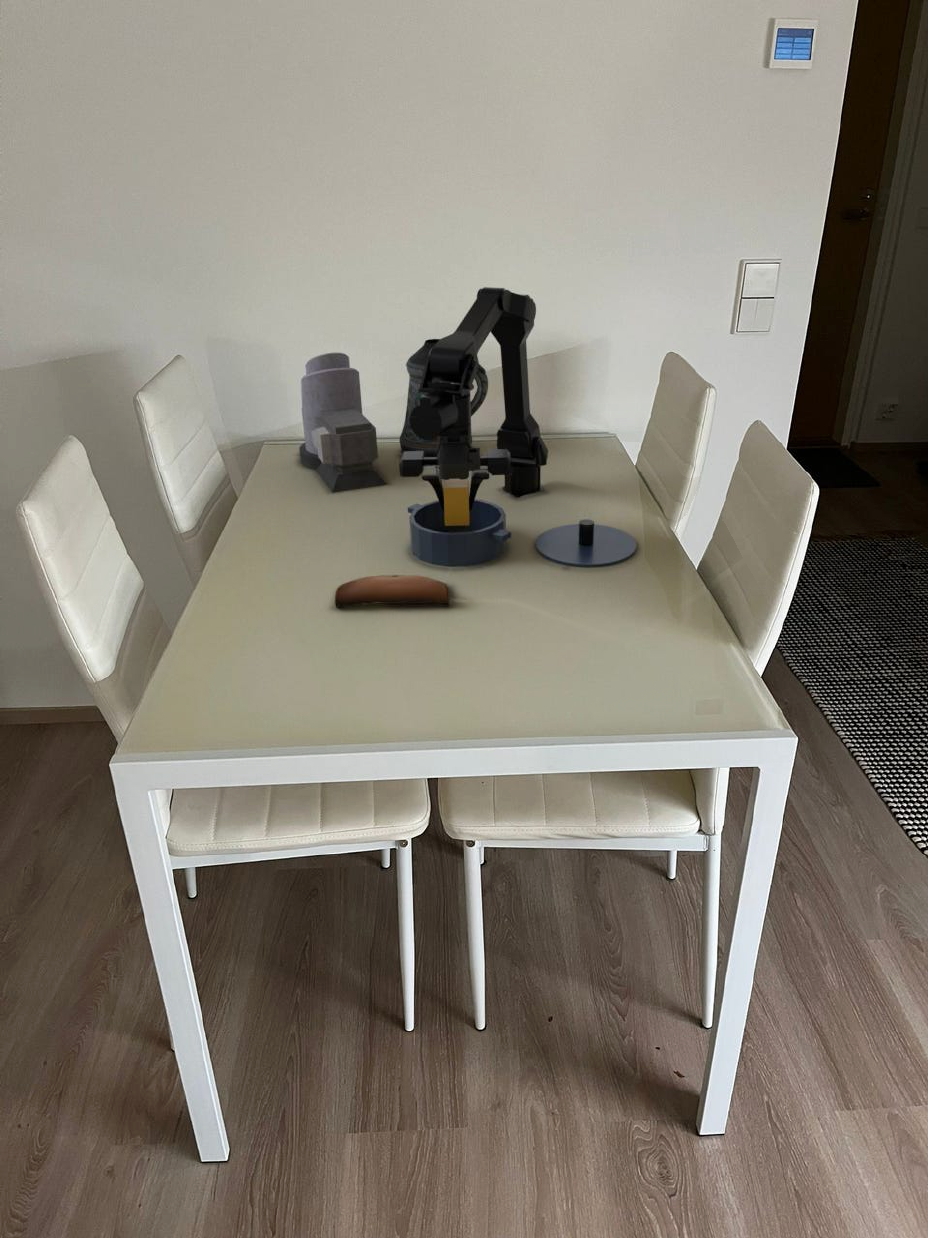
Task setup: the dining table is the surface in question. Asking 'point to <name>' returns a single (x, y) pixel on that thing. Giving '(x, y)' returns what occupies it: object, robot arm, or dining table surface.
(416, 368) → the beer stein
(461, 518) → the block
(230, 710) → the dining table surface
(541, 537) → the lid
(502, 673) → the dining table surface
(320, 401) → the juicer
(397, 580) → the sunglasses case
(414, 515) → the pot
